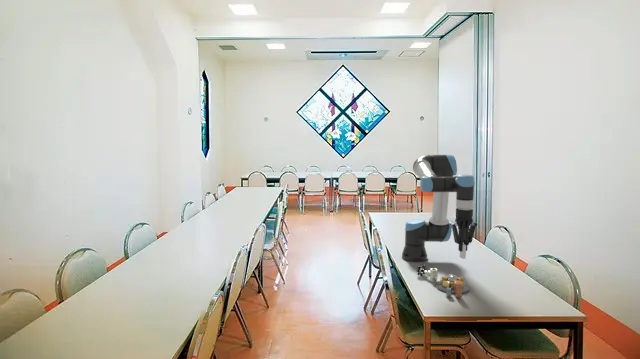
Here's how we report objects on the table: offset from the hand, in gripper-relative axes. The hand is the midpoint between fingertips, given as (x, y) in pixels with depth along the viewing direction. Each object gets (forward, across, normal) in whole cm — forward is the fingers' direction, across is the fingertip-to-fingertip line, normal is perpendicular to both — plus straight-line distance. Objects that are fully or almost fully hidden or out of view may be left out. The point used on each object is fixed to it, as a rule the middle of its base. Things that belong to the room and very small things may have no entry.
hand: (462, 257), depth 199 cm
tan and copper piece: (+17, 0, -5) cm, 18 cm away
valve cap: (+19, -1, -10) cm, 21 cm away
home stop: (+19, +6, 0) cm, 20 cm away
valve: (+19, +5, -24) cm, 31 cm away
